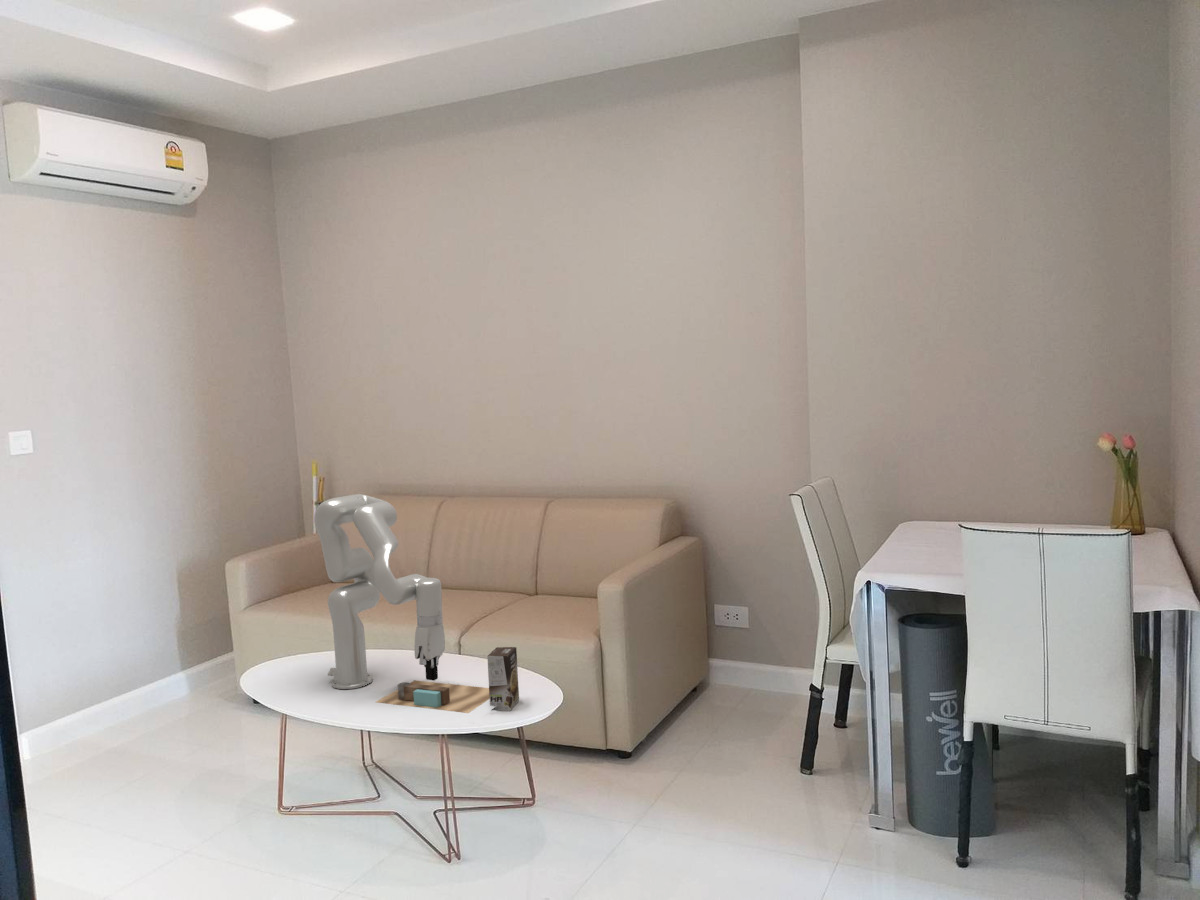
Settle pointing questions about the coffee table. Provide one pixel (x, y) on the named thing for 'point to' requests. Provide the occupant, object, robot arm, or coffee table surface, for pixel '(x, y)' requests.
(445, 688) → the folding leg
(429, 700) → the stop block
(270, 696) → the coffee table surface
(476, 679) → the coffee table surface
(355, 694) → the coffee table surface
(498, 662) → the coffee box
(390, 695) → the stool top
